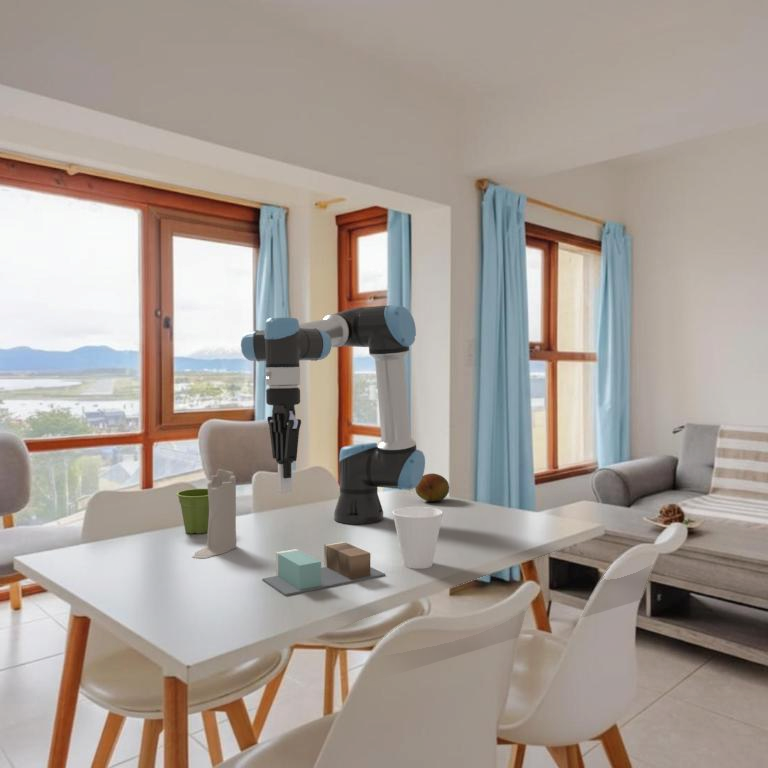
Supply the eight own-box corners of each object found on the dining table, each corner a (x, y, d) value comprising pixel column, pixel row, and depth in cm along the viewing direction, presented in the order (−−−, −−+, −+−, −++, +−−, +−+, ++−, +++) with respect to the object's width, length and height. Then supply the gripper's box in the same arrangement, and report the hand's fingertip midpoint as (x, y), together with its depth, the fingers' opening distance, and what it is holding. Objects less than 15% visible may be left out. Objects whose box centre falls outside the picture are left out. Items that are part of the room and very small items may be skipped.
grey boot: (185, 557, 160) (184, 475, 160) (218, 543, 173) (217, 468, 173) (210, 559, 158) (209, 477, 158) (241, 545, 171) (241, 469, 171)
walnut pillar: (324, 544, 151) (350, 556, 141) (343, 541, 153) (370, 553, 143) (324, 566, 151) (350, 579, 141) (343, 562, 154) (370, 575, 144)
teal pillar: (275, 552, 144) (299, 565, 134) (296, 548, 147) (321, 561, 137) (275, 574, 144) (299, 589, 134) (296, 571, 147) (321, 585, 137)
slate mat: (262, 580, 142) (262, 578, 142) (357, 562, 155) (357, 560, 155) (285, 596, 132) (285, 594, 132) (385, 575, 145) (385, 573, 145)
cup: (428, 575, 145) (428, 519, 145) (382, 566, 151) (382, 513, 151) (451, 562, 155) (451, 509, 155) (408, 554, 161) (408, 504, 161)
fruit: (413, 504, 224) (413, 475, 224) (418, 497, 237) (418, 469, 236) (448, 505, 222) (447, 476, 222) (450, 498, 235) (450, 470, 235)
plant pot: (167, 534, 183) (167, 494, 183) (194, 525, 194) (194, 487, 194) (202, 538, 179) (202, 497, 179) (228, 528, 190) (227, 489, 190)
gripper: (256, 386, 150) (258, 489, 150) (279, 388, 139) (281, 498, 140) (286, 385, 154) (288, 485, 155) (311, 387, 143) (313, 494, 144)
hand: (285, 491), depth 147 cm, fingers closed
